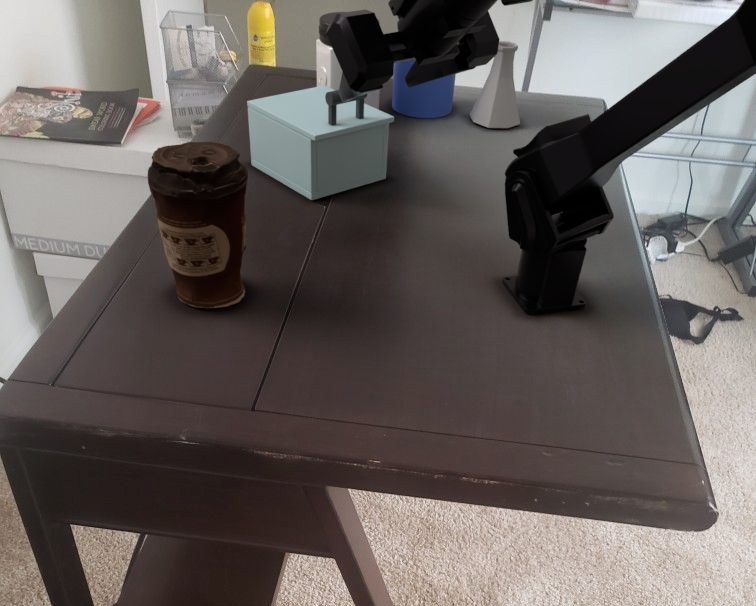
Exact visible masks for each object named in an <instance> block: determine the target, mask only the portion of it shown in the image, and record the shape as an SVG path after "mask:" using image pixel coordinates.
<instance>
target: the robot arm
mask: <svg viewBox="0 0 756 606" xmlns="http://www.w3.org/2000/svg"><path fill="white" fill-rule="evenodd" d="M498 1H499V0H388V3H387V5H388V7H389V9H390V12H391V14H392V16H393V17H396V16H397V19H398V21H397V23H396V26H397V31H395V32H393V31H392V32H388V33H387V32H386V33H384V32H383V29H382V27H381V25H379V22H380V21H379V22H378V20H379V19H378V18H377V15H376V12H374V11H372V10H368V9H359V10H358V9H357V10H352V11H343V12H344V13H338V14H336V16H335V17H334V19H333V20H332V22H331V23H330V25H329V26H328V29H327V32H326V35H327V37H328V39H329V42H330V44H331V46H332V48H333V51H334V53H335V55H336V58H337V60H338V62H339V65H340V67H341V69H342V71H343V72H342V77H341V82H340V87H339V95H340V97H341V100H342V101H343V102H345V101H348V100H351V99H354V98H357V97H360V96H362V95H365V94H368V93H371V92H374V91H377V90H379V89H380V90H382V89H383V88H384V84H386V83H388V82H389V81H390V80H391V78H393V77H394V63H398V62H404V61H409V60H414V59H416V61H415V62H414V64H413V65H412V66H411V68H410V70H409V71H408V73H407V75H406V76H405V81H406V84H407V86H408V87H413V86H416V85H420V84H423V83H426V82H430V81H433V80H436V79H440V78H443V77H447V76H450V75H454V74H456V75H457V74H460V73H464V72H467V71H471V70H474V69H475V68H476V67H481V66H485V65H487V64H488V63H490V62H491V60H493V59H494V56H495V55H496V54H497V53H498V46H499V41H500V37H499V35H498V32H497V30H496V27H495V24H494V22H493V20H492V17H491V14H490V10H491V8H492V7H493V6H494V5H495V4H496V3H497V2H498ZM533 1H534V0H500V2H501V4H502V5H503V6H505V7H506V6H514V5H519V4H524V3H531V2H533ZM377 19H378V20H377ZM755 75H756V0H743V1H742V2H741V4H739V6H738V8H737V9H736V10H735V12H734V13H733V14H731V16H730V17H729V18H728V19H726V20H724V21H723V22H722V23H720V24H719V25H717V26H716V27H715V28H714V29H713V30H711V31H710V32H709V33H707V34H706V35H705V36H703V37H702V38H700V39H699V40H698V41H696V42H695V43H694V44H693V45H691V46H690V47H689V48H687V49H686V50H684V51H683V52H681V54H679V55H678V56H676V57H675V58H674V59H673V60H671V61H670V62H669V63H667V64H666V65H665V66H663V67H662V68H661V69H659V70H658V71H657V72H655V73H654V74H653V75H651V76H650V77H649V78H648V79H646V80H645V81H643V82H642V83H641V84H639V85H638V86H637V87H636V88H634V89H633V90H631V91H630V92H629V93H627V94H626V95H625V96H624V97H622V98H621V99H619V100H618V101H617V102H615V103H614V104H613V105H611V106H610V107H609V108H607V109H606V110H604V112H602V113H601V114H599V115H598V116H597V117H595V118H594V119H593V120H591V117H590V114H589V113H587V114H582V115H580V116H579V115H578V116H575V117H572V118H569V119H566V120H565V119H564V120H562V121H558V122H555V123H552V124H548V125H545V126H544V127H543V128H541V129H540V130H539V131H538V132H537V133H536V135H534V137H533V138H532V139H531V140H530V141H529V142H528V143H527V144H526V145H524V146H522V147H518V148H514V149H513V150H512V153H513V155H515V156H516V157H515V158H514V159H513V160H512V161H510V163H509V164H508V165H507V167H506V169H505V171H504V176H505V180H504V196H505V208H506V220H507V221H506V222H507V231H508V237H509V240H511V241H514V242H515V243H517V245H518V246H519V249H520V250H521V252H520V258H519V262H518V268H517V275H509V276H503V277H502V281H501V283H502V285H503V286H504V287H505V289H506V290H507V291H508V293H509V294H510V295H511V296H512V297H513V299H514V300H515V302H516V303H517V304H518V306H519V307H520V308H521V310H522V311H523V312H524V313H525V314H527V315H528V314H531V315H532V314H541V313H542V314H543V313H551V312H559V311H560V312H561V311H570V310H578V309H584V308H586V306H587V301H586V300H585V298H584V297H583V296H582V295H581V293H579V292H578V290H577V288H578V285H579V284H578V283H579V281H580V276H581V273H582V270H583V265H584V261H585V258H586V254H587V251H588V249H587V247H586V246H587V243H588V239H589V238H592V237H594V236H596V235H601V234H604V233H605V232H606V230H607V228H608V227H609V226H610V224H611V223H612V221H613V220H614V217H615V215H614V212H613V210H612V207H611V205H610V202H609V200H608V197H607V194H606V193H605V190H604V188H603V187H604V186H605V185H606V184H607V183H608V182H610V180H611V178H612V177H613V175H614V174H615V172H616V171H617V169H618V167H619V166H620V165H621V164H622V163H623V162H624V161H625V160H627V159H629V158H630V157H632V156H633V155H634V154H636V153H637V152H639V151H641V150H642V149H644V148H645V147H647V146H648V145H650V144H651V143H653V142H654V141H656V140H657V139H658V138H660V137H662V136H664V135H665V134H667V133H668V132H669V131H671V130H673V129H674V128H676V127H677V126H679V125H680V124H682V123H683V122H684V121H686V120H688V119H689V118H690V117H692V116H694V115H695V114H697V113H698V112H700V111H701V110H703V109H705V108H706V107H707V106H709V105H711V104H712V103H713V102H715V101H717V100H718V99H719V98H721V97H723V96H724V95H726V94H727V93H729V92H730V91H732V90H734V89H735V88H736V87H738V86H740V85H742V83H744V82H746V81H748V79H750V78H752V77H753V76H755Z"/></svg>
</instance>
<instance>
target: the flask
mask: <svg viewBox="0 0 756 606" xmlns="http://www.w3.org/2000/svg"><path fill="white" fill-rule="evenodd" d="M518 49H519V45H518V44H517V43H515V42H512V41H508V40H506V41H505V40H504V41H503V40H499V46H498V53H497V54H496V55H495V56H494V57H493V60H492V64H491V68H490V71H489V73H488V76H487V77H486V78H487V79H486V80H485V82H484V85H483V87H482V89H481V91H480V93H479V95H478V97H477V99H476V101H475V103H474V105H473V107H472V109H471V111H470V112H469V117H470V119H471V121H472V123H475V124H478V125H480V126H483V127H486V128H488V129H510V128H512V127H515V126H519V125H521V119H520V113H519V108H518V101H517V94H516V88H515V80H514V62H515V54H516V52H517V51H518Z"/></svg>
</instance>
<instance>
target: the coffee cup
mask: <svg viewBox="0 0 756 606" xmlns="http://www.w3.org/2000/svg"><path fill="white" fill-rule="evenodd" d="M240 156H241V154H240V152H239V151H238V150H236V149H234V148H233V147H231V146H230V145H228V144H224V143H219V142H215V141H214V142H213V141H187V142H184V143H181V144H172V145H165V146H161V147H158V148H157V149H156V150H154V151H153V153H152V156H151V164H150V166H149V167H148V168H147V185H148V188H149V192H150V194H151V196H152V198H153V199H154V205H155V208H156V219H157V225H158V229H159V234H160V237H161V240H162V245H163V250H164V255H165V259H166V261H167V263H168V264H167V265H168V266H169V267H170V269H171V271H172V274H173V278H174V282H175V291H176V296H177V298H178V299H179V301H180V302H181V303H184V304H186V305H188V306H190V307H194V308H198V309H218V308H225V307H229V306H232V305H235V304H238V303H240V302H241V301H242V299H243V298H245V293H246V290H245V289H246V288H245V285H244V283H243V281H242V279H241V277H242V276H241V275H242V274H241V269H242V263H243V262H242V261H243V255H244V252H245V251H246V248H247V244H246V231H247V218H246V214H245V212H246V211H245V207H246V206H245V203H246V198H245V197H246V194H247V185H248V177H249V176H248V175H249V174H248V173H249V170H248V168H247V166H246V165H245V164H243V163H242V162H241V161H239V158H240Z"/></svg>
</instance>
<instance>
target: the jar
mask: <svg viewBox="0 0 756 606" xmlns="http://www.w3.org/2000/svg"><path fill="white" fill-rule="evenodd" d="M344 12H345V11H333V12H329V13H324V14H322V15H321V16H320V17H319V21H318V23H319V25H318V34H319V35H318V36H319V38H317V39H316V41H315V43H316V45H315V46H316V50H315V51H316V54H315V55H316V87H319V86H324V85H325V86H327V87H329V88H331V89H334V90H339V87H340V82H341V77H342V72H343V71H342V69H341V67H340V65H339V62H338V60H337V58H336V55H335V53H334V51H333V48H332V46H331V44H330V42H329V39H328V37H327V35H326V32H327V29H328V26H329V25H330V23H331V22H332V20H333V19H334V17H335V16H336V14H338V13H344ZM377 20H378V22H379V25H380V23H381V22H380V20H379V18H377ZM380 26H381V25H380ZM380 92H381V89H379V90H377V91H374V92H371V93H368V94H367V97H366V98H365V99H364V103H365V104H367V105H369V106H371V107H374V108H376V109H378V110H380Z"/></svg>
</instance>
